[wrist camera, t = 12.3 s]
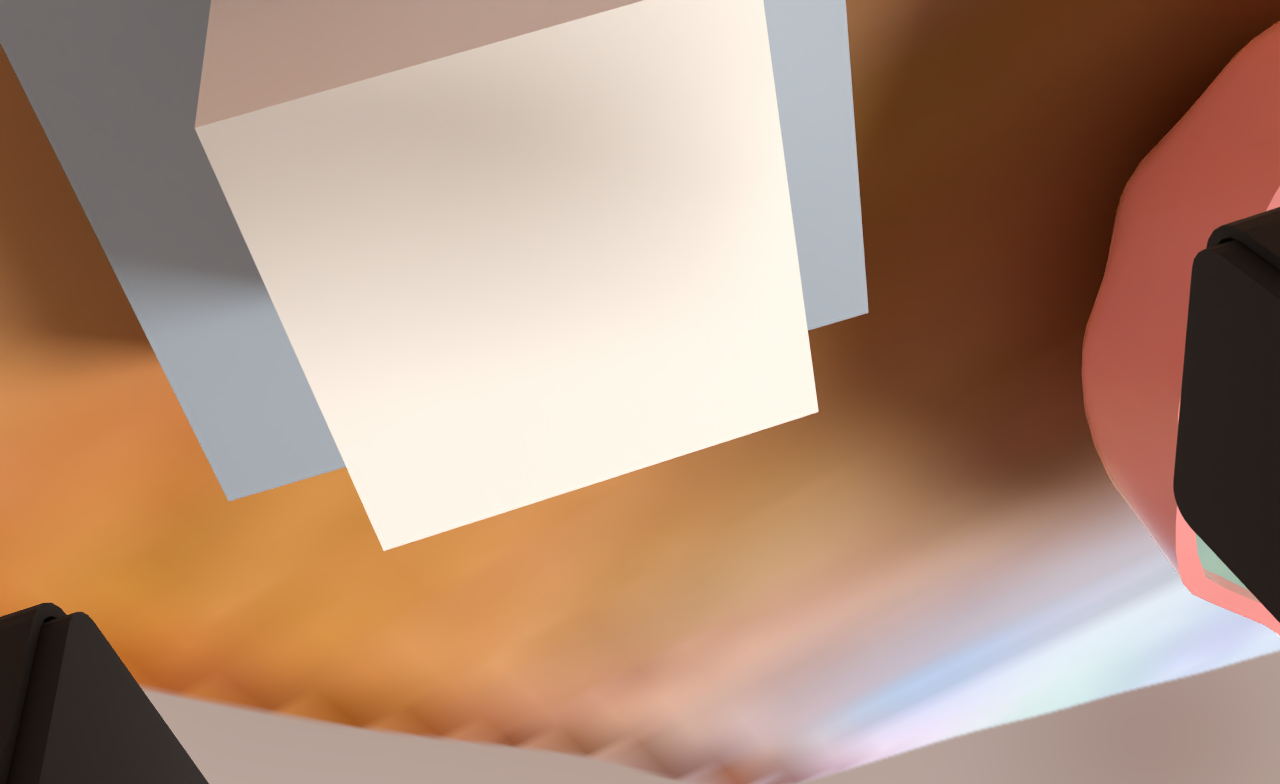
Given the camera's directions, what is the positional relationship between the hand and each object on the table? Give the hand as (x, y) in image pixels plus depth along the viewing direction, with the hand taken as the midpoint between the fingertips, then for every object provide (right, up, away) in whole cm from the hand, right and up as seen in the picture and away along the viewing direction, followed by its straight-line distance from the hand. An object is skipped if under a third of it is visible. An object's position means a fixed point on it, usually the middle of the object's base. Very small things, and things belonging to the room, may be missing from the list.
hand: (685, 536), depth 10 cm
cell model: (+17, +6, +23) cm, 29 cm away
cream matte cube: (-3, +6, +10) cm, 12 cm away
